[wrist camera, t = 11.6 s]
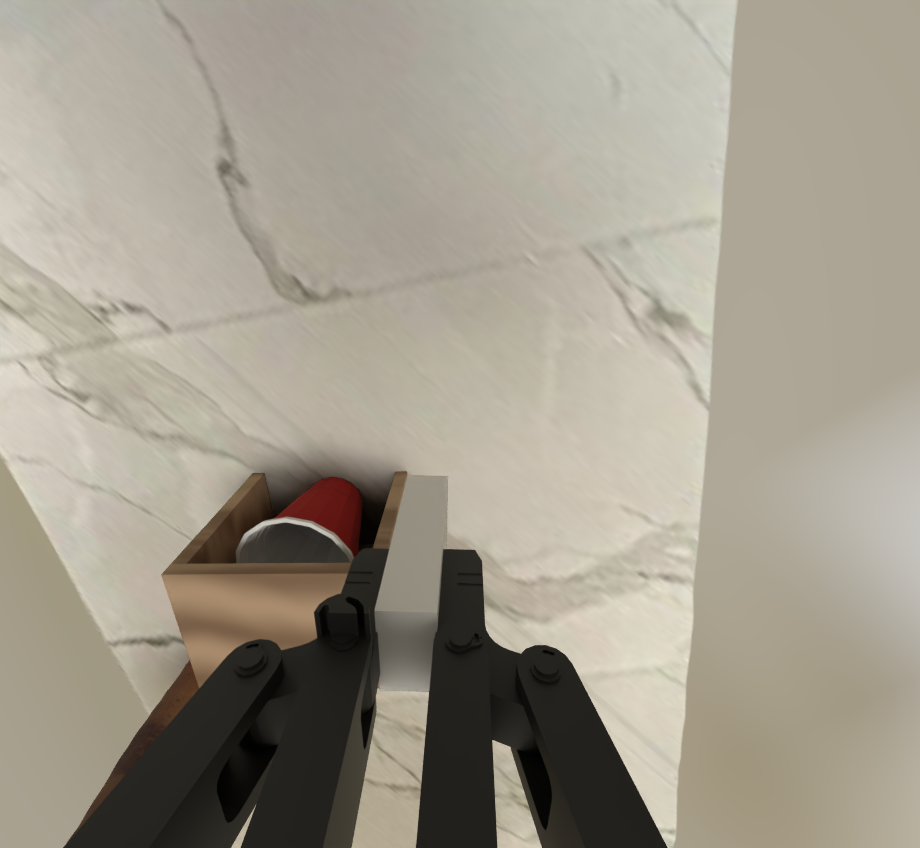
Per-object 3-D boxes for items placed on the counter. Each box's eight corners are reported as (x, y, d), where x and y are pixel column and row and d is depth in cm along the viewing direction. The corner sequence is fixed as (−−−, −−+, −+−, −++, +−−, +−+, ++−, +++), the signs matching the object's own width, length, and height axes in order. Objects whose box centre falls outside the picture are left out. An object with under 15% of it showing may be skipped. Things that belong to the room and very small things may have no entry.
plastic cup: (275, 456, 48) (216, 523, 36) (378, 453, 47) (350, 519, 36) (293, 542, 52) (246, 625, 41) (388, 540, 51) (366, 623, 40)
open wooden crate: (253, 473, 48) (161, 574, 34) (407, 471, 48) (381, 573, 33) (272, 564, 53) (199, 688, 38) (413, 563, 53) (393, 688, 38)
